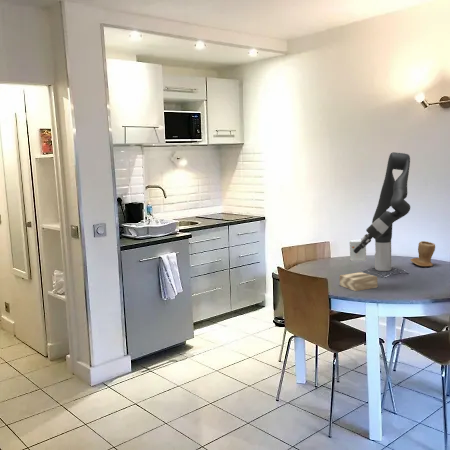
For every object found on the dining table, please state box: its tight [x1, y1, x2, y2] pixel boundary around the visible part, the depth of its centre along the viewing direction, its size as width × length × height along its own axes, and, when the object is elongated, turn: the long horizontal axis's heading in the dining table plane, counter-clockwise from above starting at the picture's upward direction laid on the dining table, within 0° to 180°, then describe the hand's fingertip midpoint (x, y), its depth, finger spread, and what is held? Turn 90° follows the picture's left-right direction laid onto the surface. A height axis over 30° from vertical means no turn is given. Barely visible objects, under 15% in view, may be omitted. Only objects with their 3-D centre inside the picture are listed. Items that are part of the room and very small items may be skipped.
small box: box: [349, 239, 367, 262], centre depth 270 cm, size 8×6×10 cm
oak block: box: [339, 271, 378, 292], centre depth 272 cm, size 14×14×6 cm
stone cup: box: [410, 240, 436, 267], centre depth 314 cm, size 15×12×15 cm
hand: (354, 251), depth 271 cm, fingers closed on small box, 6 cm apart
